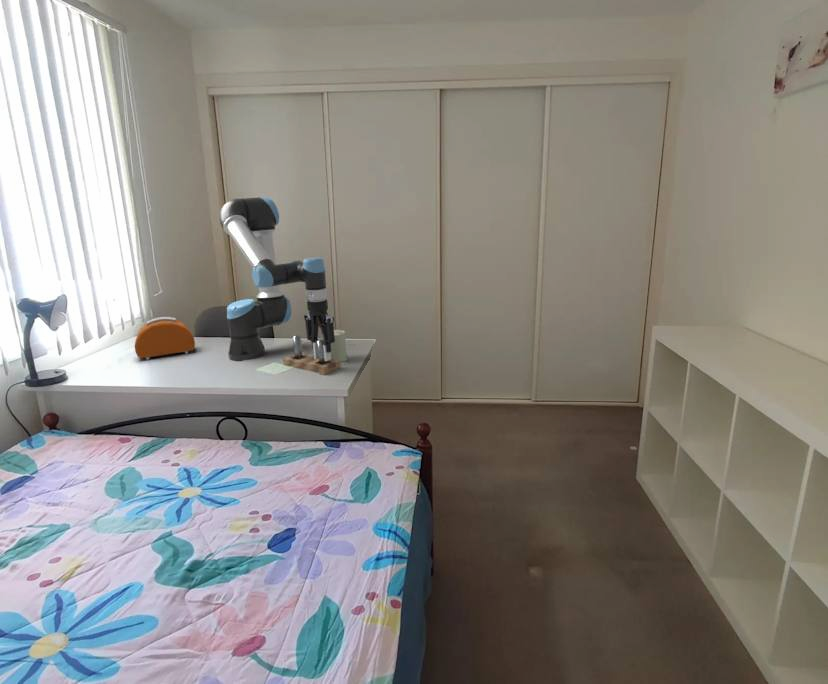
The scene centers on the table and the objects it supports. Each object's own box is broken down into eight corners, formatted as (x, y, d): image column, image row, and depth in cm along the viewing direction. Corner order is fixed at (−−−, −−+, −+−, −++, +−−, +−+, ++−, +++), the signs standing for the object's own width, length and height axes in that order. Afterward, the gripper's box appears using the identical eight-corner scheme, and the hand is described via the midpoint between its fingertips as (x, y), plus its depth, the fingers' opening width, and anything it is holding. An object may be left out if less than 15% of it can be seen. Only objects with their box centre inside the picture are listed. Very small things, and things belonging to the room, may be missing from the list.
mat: (254, 370, 203) (254, 369, 203) (274, 363, 211) (274, 362, 211) (275, 375, 196) (275, 374, 196) (295, 367, 204) (294, 367, 204)
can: (342, 363, 207) (340, 334, 203) (321, 363, 209) (318, 334, 205) (350, 356, 215) (347, 328, 212) (329, 356, 217) (326, 328, 214)
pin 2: (318, 370, 200) (315, 340, 197) (323, 367, 203) (320, 338, 199) (323, 371, 199) (320, 341, 195) (329, 369, 201) (326, 339, 198)
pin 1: (294, 364, 208) (291, 336, 204) (299, 362, 210) (296, 334, 207) (299, 366, 206) (296, 337, 203) (305, 363, 208) (302, 335, 205)
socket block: (283, 366, 207) (282, 358, 206) (300, 359, 214) (299, 352, 213) (324, 374, 195) (323, 367, 194) (340, 367, 202) (339, 360, 201)
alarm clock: (195, 347, 237) (189, 312, 232) (196, 352, 229) (190, 316, 224) (138, 356, 228) (130, 319, 223) (137, 362, 220) (129, 323, 215)
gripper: (292, 299, 195) (299, 358, 202) (327, 303, 185) (333, 365, 192) (307, 296, 201) (312, 353, 208) (341, 299, 191) (346, 359, 198)
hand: (322, 359), depth 200 cm, fingers open, 5 cm apart
